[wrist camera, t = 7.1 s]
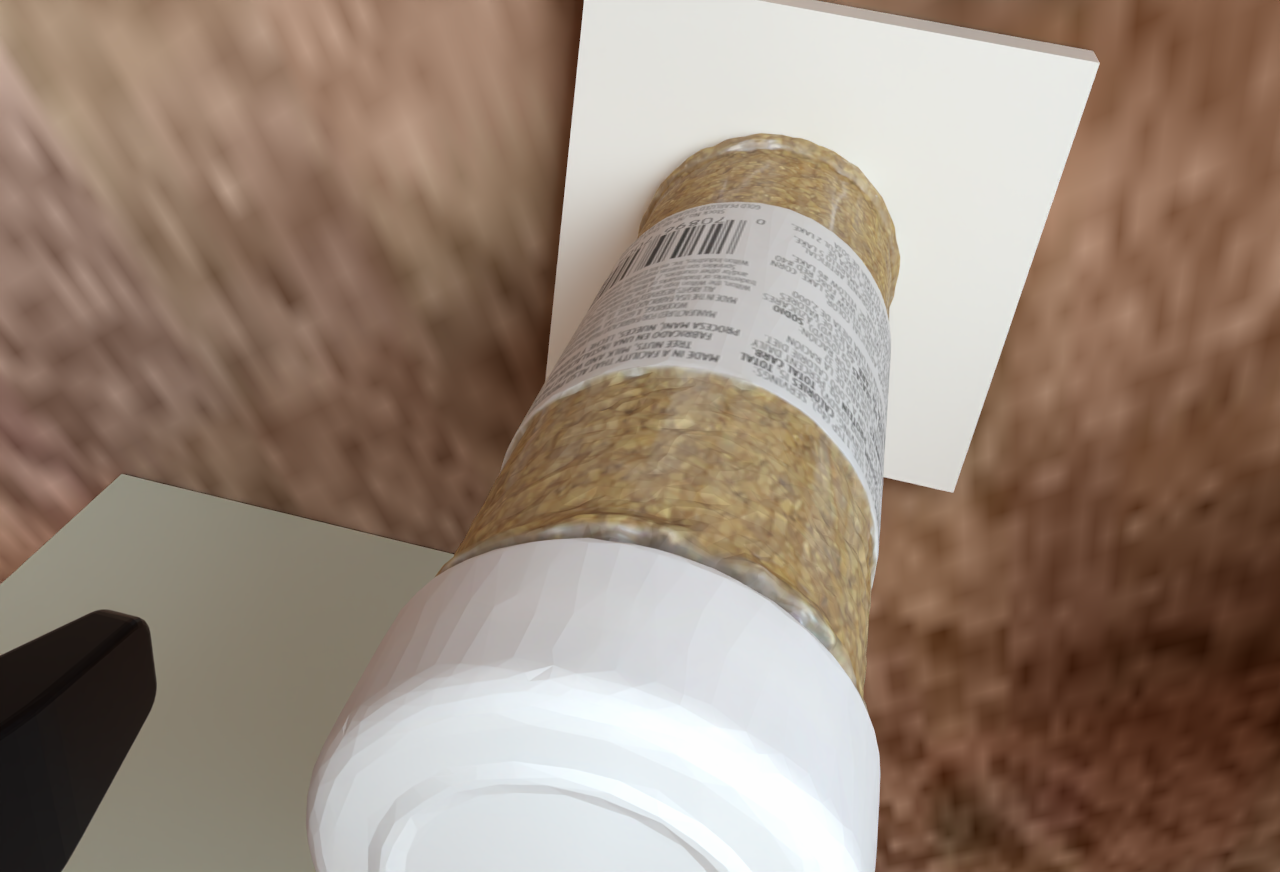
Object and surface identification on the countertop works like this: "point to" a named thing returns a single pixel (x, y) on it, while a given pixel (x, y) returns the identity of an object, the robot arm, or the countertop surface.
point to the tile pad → (862, 134)
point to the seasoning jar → (658, 568)
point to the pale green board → (218, 663)
